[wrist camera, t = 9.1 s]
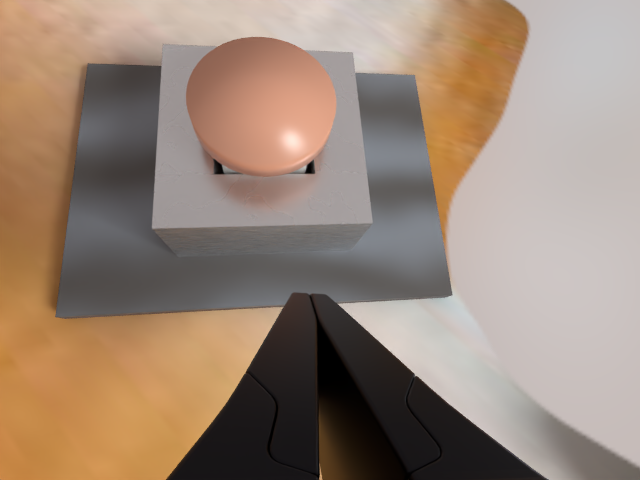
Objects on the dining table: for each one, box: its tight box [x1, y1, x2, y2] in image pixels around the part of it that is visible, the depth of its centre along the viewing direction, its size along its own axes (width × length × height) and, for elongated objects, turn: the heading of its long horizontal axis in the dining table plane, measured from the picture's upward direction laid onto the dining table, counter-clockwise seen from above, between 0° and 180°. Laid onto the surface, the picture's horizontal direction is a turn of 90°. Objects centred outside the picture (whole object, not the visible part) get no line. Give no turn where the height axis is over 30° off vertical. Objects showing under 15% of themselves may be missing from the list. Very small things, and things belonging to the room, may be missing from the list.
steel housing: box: [152, 44, 373, 257], centre depth 21 cm, size 10×10×5 cm
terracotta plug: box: [186, 37, 336, 177], centre depth 19 cm, size 6×6×7 cm
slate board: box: [55, 64, 452, 319], centre depth 24 cm, size 16×22×1 cm
